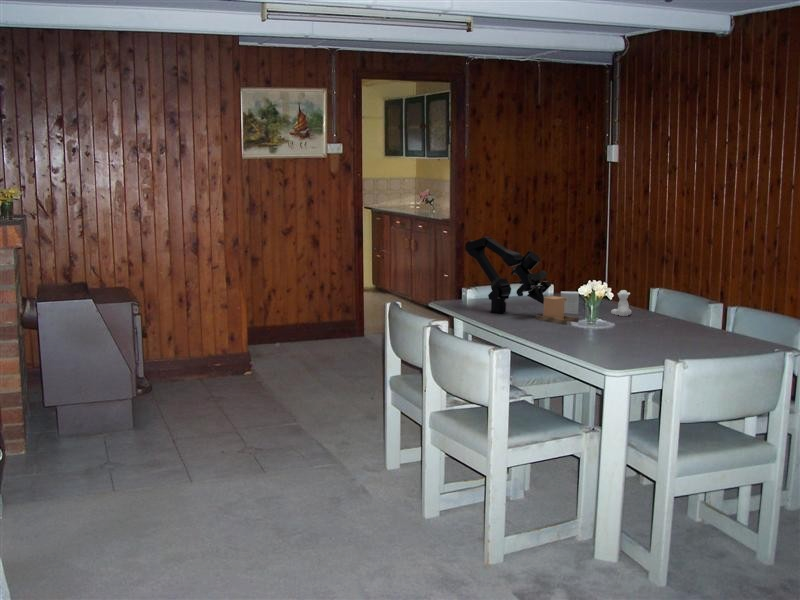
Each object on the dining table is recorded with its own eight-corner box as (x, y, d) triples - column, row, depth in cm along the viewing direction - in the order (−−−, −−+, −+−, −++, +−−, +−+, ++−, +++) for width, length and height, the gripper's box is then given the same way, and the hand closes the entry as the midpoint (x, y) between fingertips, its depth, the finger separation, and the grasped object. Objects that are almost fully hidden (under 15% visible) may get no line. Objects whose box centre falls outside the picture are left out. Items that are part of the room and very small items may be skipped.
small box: (576, 313, 408) (577, 291, 406) (578, 315, 402) (579, 293, 400) (559, 313, 408) (560, 291, 407) (560, 315, 403) (561, 292, 401)
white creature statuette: (631, 313, 409) (632, 288, 407) (635, 317, 401) (636, 291, 399) (610, 313, 409) (611, 288, 407) (614, 316, 401) (615, 291, 399)
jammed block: (543, 319, 385) (543, 297, 384) (552, 318, 390) (553, 295, 389) (554, 321, 381) (554, 299, 380) (563, 320, 386) (564, 297, 384)
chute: (535, 321, 387) (535, 315, 386) (549, 318, 393) (549, 312, 393) (568, 327, 374) (569, 321, 373) (582, 324, 380) (582, 318, 380)
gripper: (522, 266, 384) (541, 294, 377) (548, 263, 396) (567, 290, 390) (508, 282, 390) (526, 309, 384) (534, 278, 403) (552, 305, 397)
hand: (544, 303), depth 389 cm, fingers closed
